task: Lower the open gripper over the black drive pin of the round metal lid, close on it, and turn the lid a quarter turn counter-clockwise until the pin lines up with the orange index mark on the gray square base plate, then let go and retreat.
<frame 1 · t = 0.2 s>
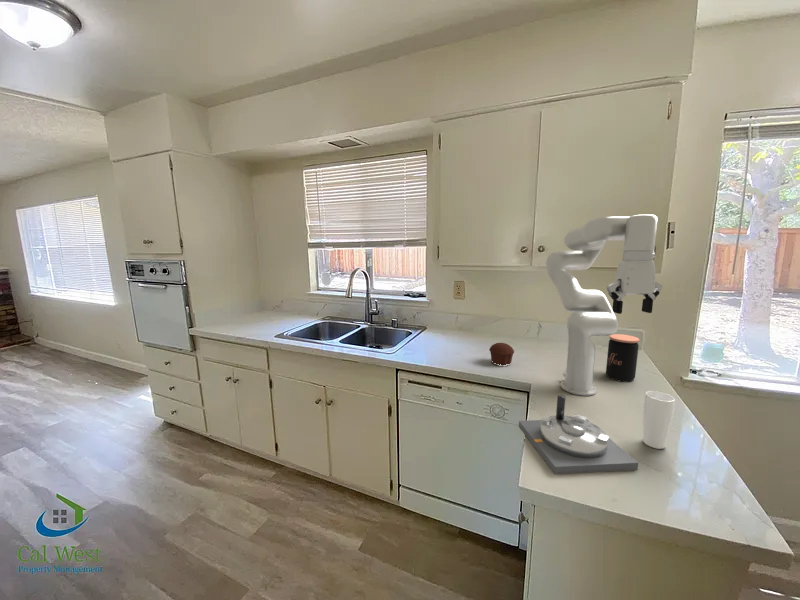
hand: (631, 312, 102), 36 cm above the counter, tool pointing down, fingers open, 9 cm apart
drinking glass: (653, 444, 95), on the counter
coffee jar: (619, 377, 143), on the counter
muffin: (501, 363, 161), on the counter
gray square base plate: (571, 445, 95), on the counter
round metal lid: (573, 423, 94), point 7 cm above the counter, hinge at 0.0°
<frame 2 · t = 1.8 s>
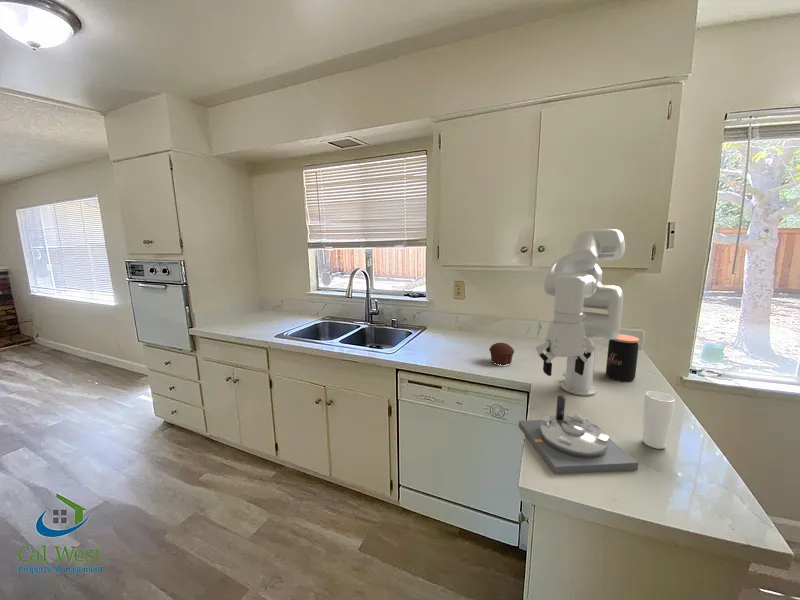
hand: (563, 373, 98), 19 cm above the counter, tool pointing down, fingers open, 9 cm apart
nothing on the counter moved.
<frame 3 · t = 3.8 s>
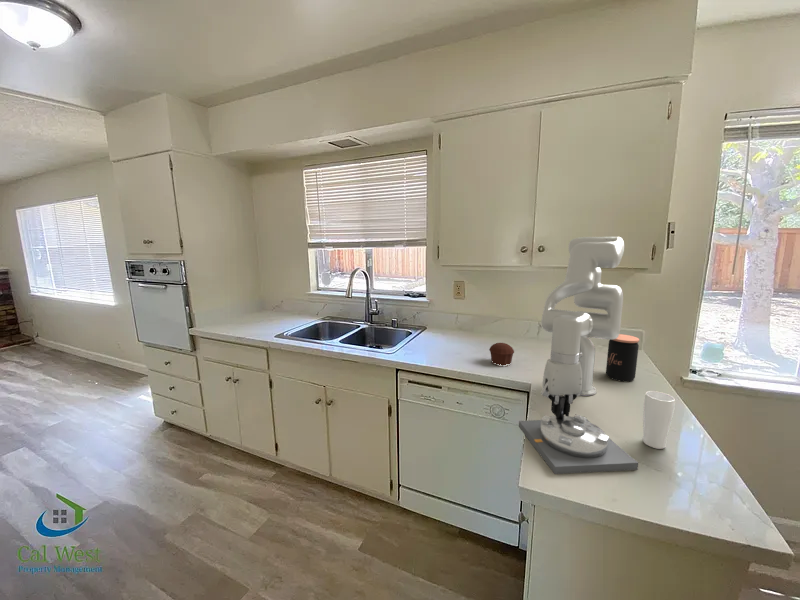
hand: (560, 413, 101), 6 cm above the counter, tool pointing down, fingers closed on round metal lid, 2 cm apart
round metal lid: (573, 423, 94), point 7 cm above the counter, hinge at 0.0°, touching gripper
everything else where it was.
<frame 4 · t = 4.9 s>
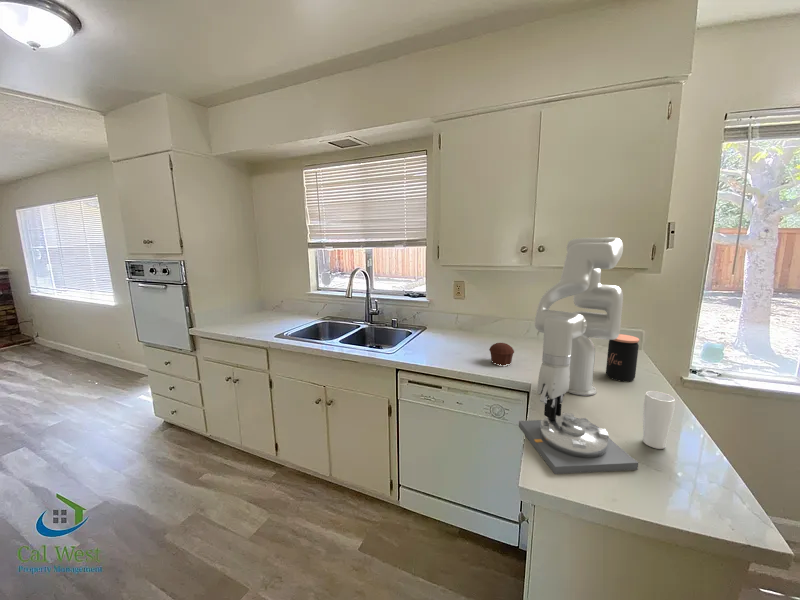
hand: (552, 415, 100), 6 cm above the counter, tool pointing down, fingers closed, pressing on round metal lid
round metal lid: (573, 423, 94), point 7 cm above the counter, hinge at 24.1°, touching gripper
everything else where it was.
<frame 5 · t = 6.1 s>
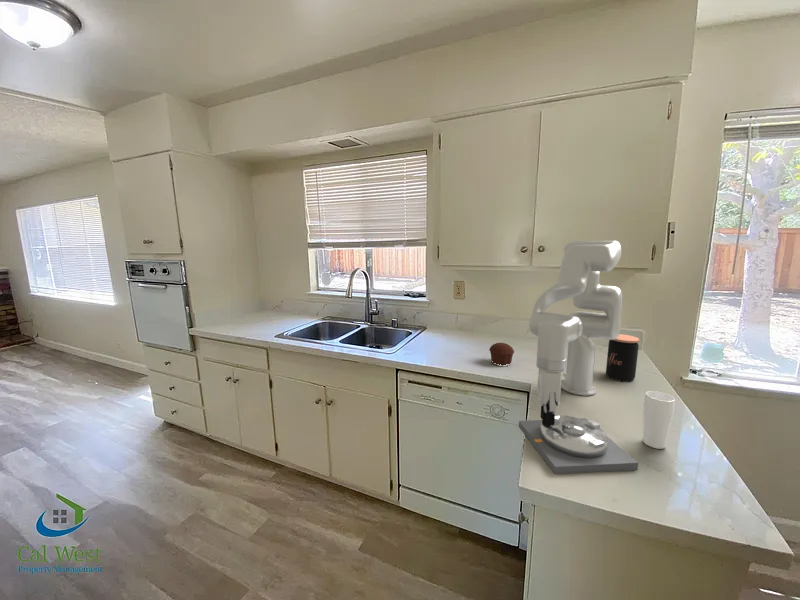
hand: (547, 421, 97), 6 cm above the counter, tool pointing down, fingers closed on round metal lid, 2 cm apart
round metal lid: (573, 423, 94), point 7 cm above the counter, hinge at 61.2°, touching gripper
everything else where it was.
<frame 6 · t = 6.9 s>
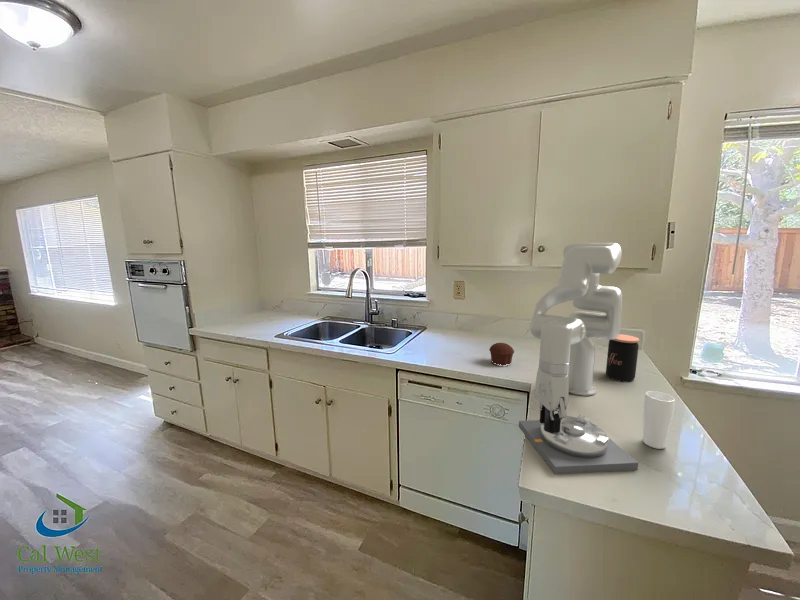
hand: (549, 426, 94), 6 cm above the counter, tool pointing down, fingers open, 4 cm apart
round metal lid: (573, 423, 94), point 7 cm above the counter, hinge at 82.7°
everything else where it was.
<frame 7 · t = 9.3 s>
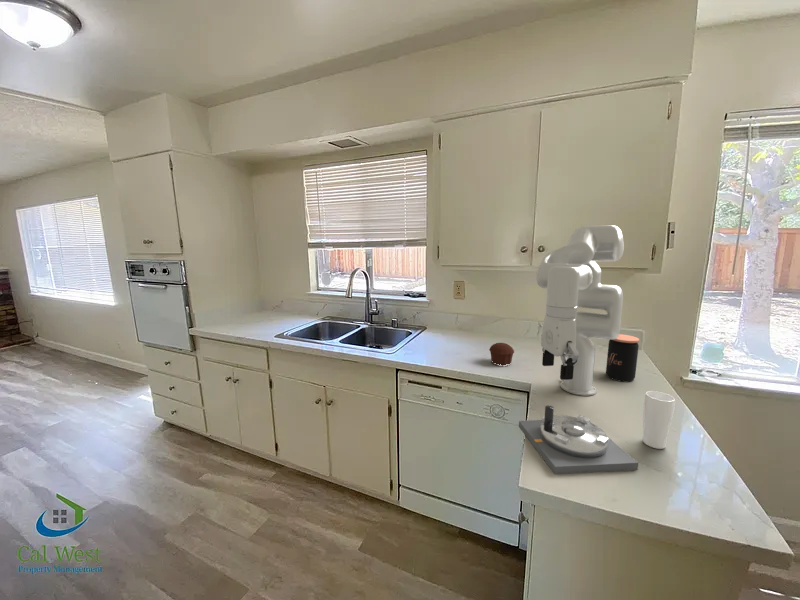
hand: (556, 372, 91), 22 cm above the counter, tool pointing down, fingers open, 9 cm apart
nothing on the counter moved.
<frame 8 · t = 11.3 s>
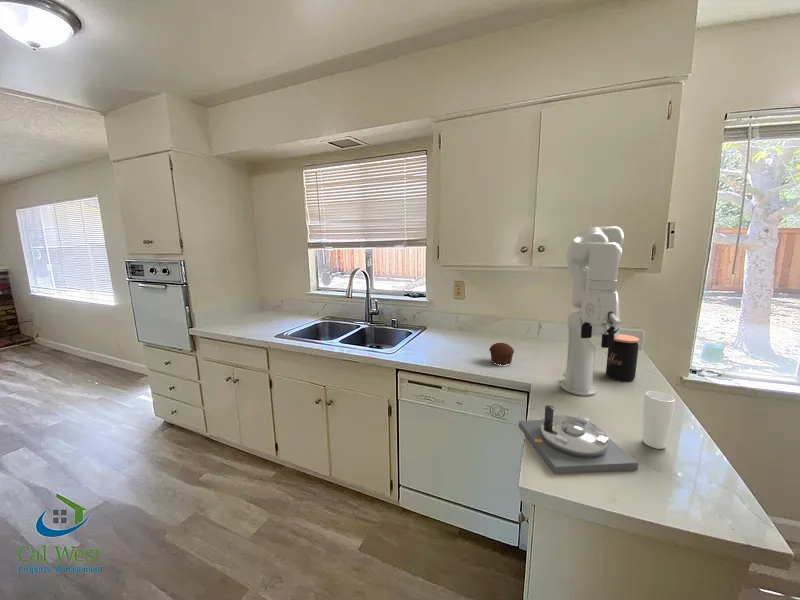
hand: (595, 342, 99), 28 cm above the counter, tool pointing down, fingers open, 9 cm apart
nothing on the counter moved.
at the end: round metal lid at +83° (first picture: +0°); the gripper is holding nothing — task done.
